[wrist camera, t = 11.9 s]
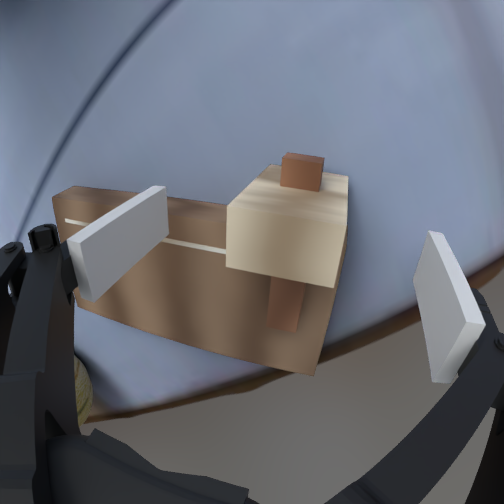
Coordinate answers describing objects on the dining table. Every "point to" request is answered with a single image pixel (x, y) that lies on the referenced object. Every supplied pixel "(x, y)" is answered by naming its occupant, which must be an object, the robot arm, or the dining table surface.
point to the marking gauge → (289, 232)
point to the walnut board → (199, 286)
